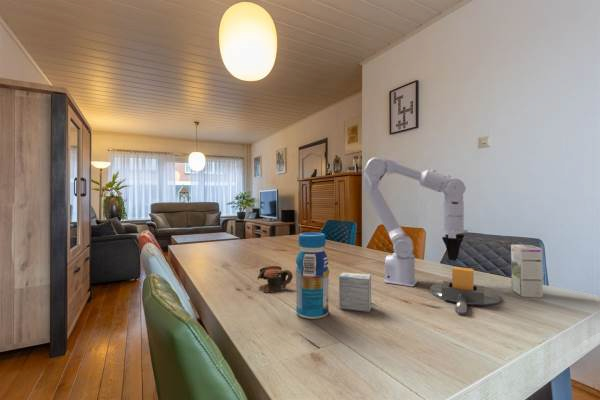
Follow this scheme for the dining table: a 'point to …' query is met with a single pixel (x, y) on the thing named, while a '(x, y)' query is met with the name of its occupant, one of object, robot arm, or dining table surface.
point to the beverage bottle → (312, 277)
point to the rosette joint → (465, 296)
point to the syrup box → (527, 270)
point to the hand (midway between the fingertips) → (453, 257)
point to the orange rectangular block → (462, 278)
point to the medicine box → (355, 291)
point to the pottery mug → (274, 278)
